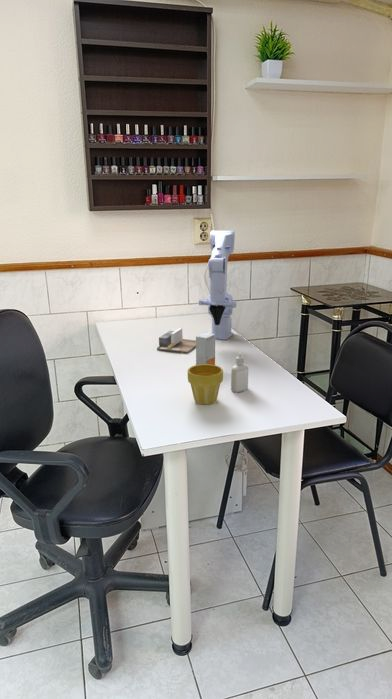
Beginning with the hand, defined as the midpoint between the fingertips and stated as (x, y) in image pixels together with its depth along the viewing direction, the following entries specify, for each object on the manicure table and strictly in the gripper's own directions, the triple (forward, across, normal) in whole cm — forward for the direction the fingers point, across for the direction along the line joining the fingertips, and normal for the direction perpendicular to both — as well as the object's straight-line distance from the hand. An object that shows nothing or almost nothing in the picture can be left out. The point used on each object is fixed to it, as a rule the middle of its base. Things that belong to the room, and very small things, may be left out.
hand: (217, 324), depth 190 cm
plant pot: (+10, +14, -47) cm, 50 cm away
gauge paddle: (+8, -16, -6) cm, 18 cm away
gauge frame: (+9, -14, -4) cm, 17 cm away
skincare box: (+10, +4, -22) cm, 24 cm away
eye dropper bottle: (+10, +21, -36) cm, 43 cm away
